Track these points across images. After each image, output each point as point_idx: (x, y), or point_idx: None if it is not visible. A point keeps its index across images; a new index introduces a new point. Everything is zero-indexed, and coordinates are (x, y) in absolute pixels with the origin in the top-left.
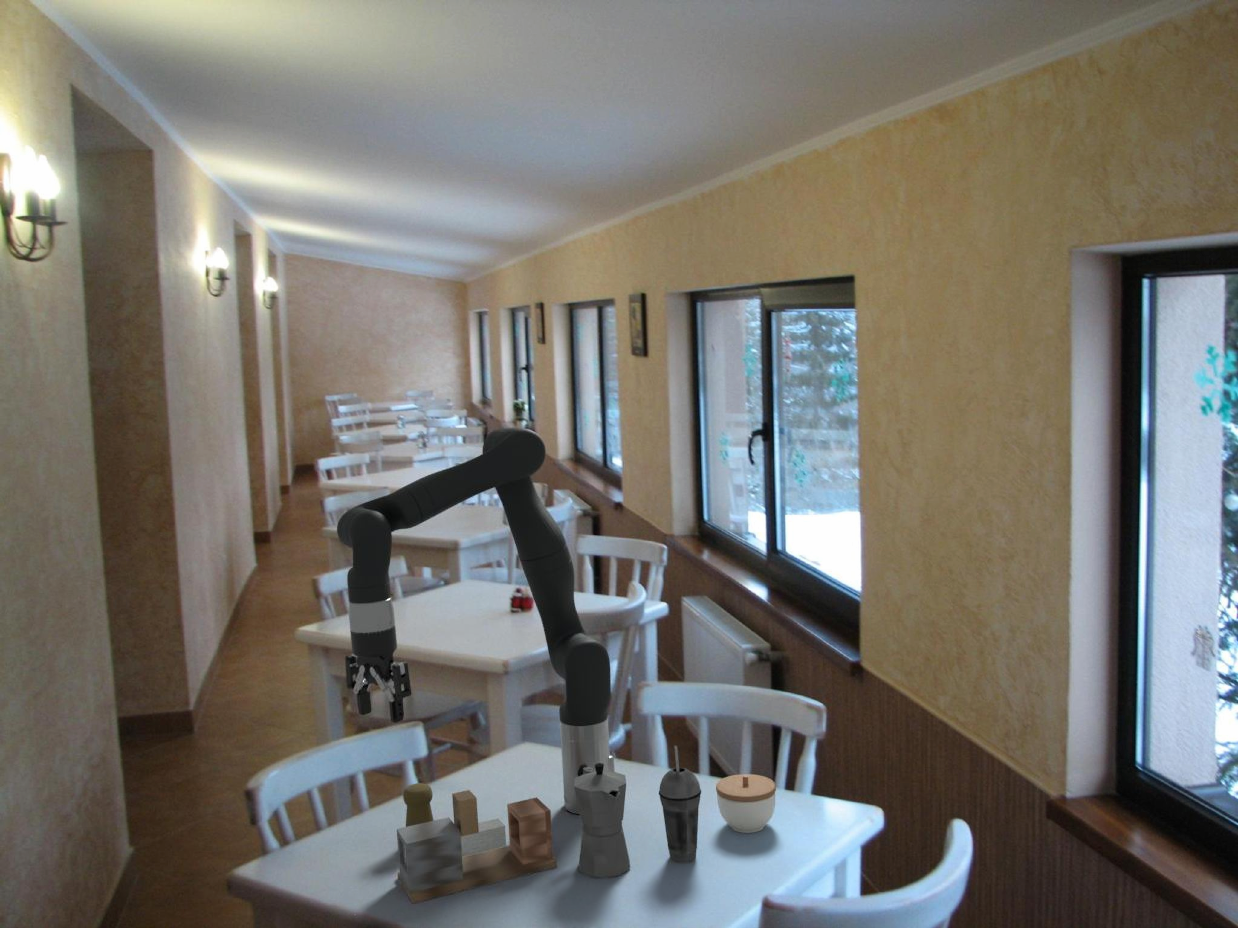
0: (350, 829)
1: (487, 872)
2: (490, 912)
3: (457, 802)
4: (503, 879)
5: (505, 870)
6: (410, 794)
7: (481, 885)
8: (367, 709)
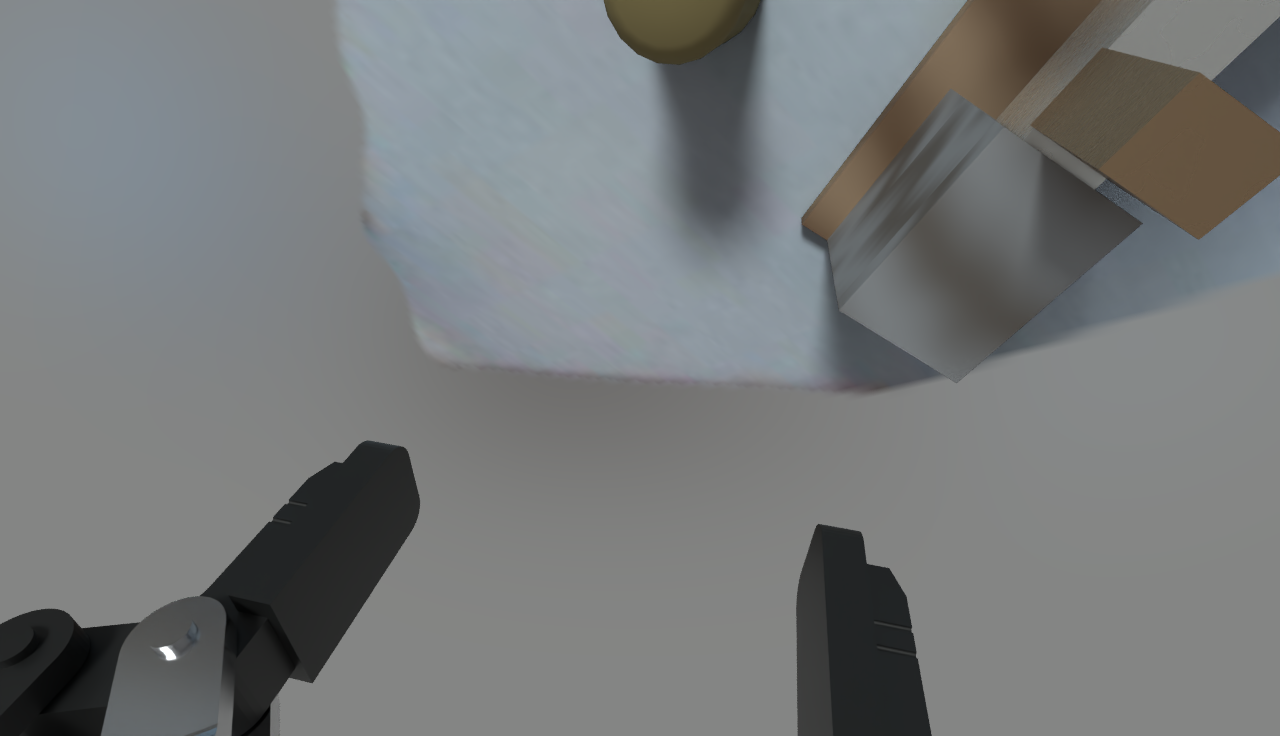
0: (391, 22)
1: None
2: (1230, 256)
3: (1163, 215)
4: None
5: None
6: (684, 57)
7: None
8: (392, 492)
